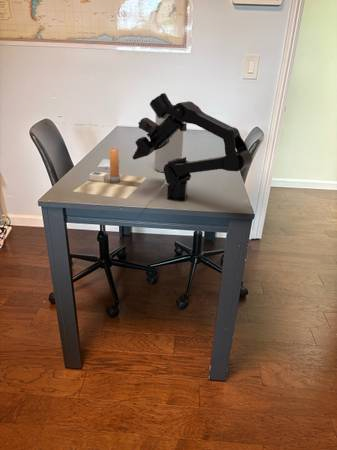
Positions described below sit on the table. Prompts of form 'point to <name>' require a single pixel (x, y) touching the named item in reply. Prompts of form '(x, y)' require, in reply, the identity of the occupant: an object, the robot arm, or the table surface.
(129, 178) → the subfloor board
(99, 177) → the block
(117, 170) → the awl
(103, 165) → the hard drive
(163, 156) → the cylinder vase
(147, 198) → the table surface
